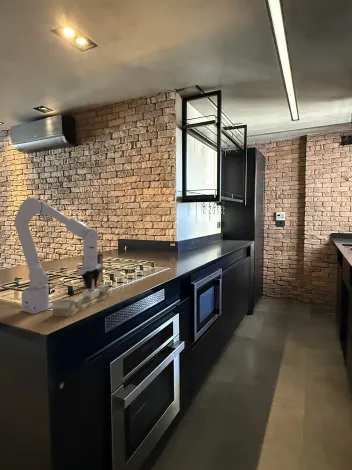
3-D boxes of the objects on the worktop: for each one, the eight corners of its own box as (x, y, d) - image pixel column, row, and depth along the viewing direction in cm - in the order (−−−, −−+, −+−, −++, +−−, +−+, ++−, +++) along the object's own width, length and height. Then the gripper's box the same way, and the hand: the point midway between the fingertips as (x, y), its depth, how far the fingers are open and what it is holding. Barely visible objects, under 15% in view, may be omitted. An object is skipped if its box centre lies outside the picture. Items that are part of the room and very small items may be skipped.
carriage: (91, 299, 124) (91, 281, 124) (82, 298, 126) (82, 280, 125) (99, 295, 130) (99, 278, 129) (91, 294, 131) (90, 277, 131)
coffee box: (93, 282, 161) (92, 253, 159) (103, 283, 159) (102, 253, 157) (82, 286, 152) (82, 255, 150) (93, 287, 150) (92, 256, 148)
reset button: (97, 289, 133) (97, 282, 133) (93, 288, 134) (93, 282, 133) (100, 288, 135) (100, 281, 135) (96, 287, 136) (96, 281, 136)
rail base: (68, 317, 109) (67, 303, 108) (52, 315, 111) (52, 301, 110) (108, 296, 135) (108, 285, 135) (95, 294, 137) (95, 283, 137)
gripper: (88, 259, 118) (88, 292, 119) (107, 254, 132) (108, 284, 133) (73, 258, 121) (74, 291, 122) (94, 253, 134) (94, 283, 135)
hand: (91, 287), depth 128 cm, fingers closed on carriage, 3 cm apart
